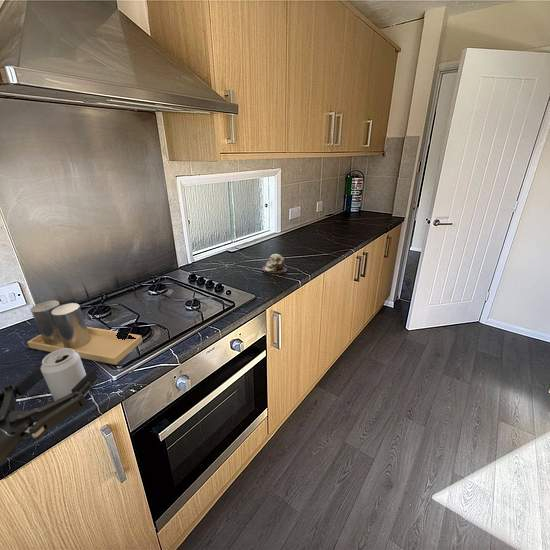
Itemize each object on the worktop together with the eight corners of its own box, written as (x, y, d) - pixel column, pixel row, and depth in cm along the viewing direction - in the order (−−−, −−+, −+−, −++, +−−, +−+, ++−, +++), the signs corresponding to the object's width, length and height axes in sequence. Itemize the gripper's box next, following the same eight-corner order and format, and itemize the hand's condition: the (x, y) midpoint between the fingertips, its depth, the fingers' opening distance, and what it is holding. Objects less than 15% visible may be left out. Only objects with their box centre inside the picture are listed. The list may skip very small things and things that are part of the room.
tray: (29, 348, 89) (26, 342, 88) (63, 328, 99) (60, 322, 98) (116, 366, 81) (113, 358, 80) (143, 342, 91) (141, 335, 90)
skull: (272, 275, 133) (263, 255, 135) (264, 283, 142) (255, 264, 144) (293, 268, 139) (284, 249, 141) (284, 276, 148) (276, 258, 150)
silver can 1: (38, 343, 91) (24, 310, 86) (59, 331, 97) (47, 299, 92) (56, 347, 89) (42, 313, 84) (76, 334, 95) (64, 301, 90)
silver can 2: (58, 347, 89) (45, 313, 84) (78, 334, 95) (67, 302, 90) (76, 351, 87) (63, 316, 82) (95, 337, 93) (84, 304, 88)
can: (70, 411, 67) (53, 370, 62) (48, 403, 70) (29, 362, 65) (98, 388, 73) (84, 349, 69) (77, 381, 76) (62, 343, 71)
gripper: (-76, 466, 53) (27, 381, 73) (48, 479, 50) (121, 387, 70) (-98, 437, 50) (15, 357, 70) (33, 449, 47) (113, 362, 67)
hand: (68, 372), depth 70 cm, fingers open, 13 cm apart
